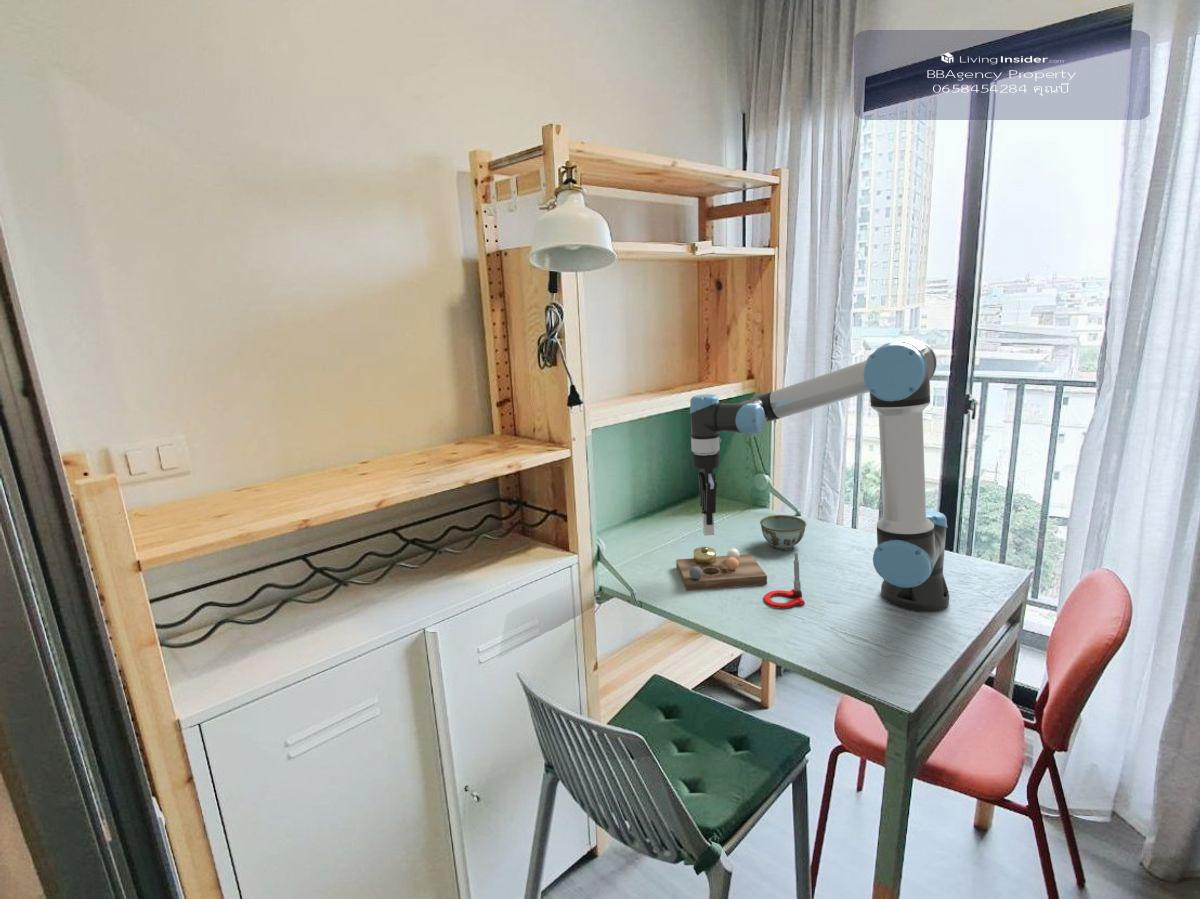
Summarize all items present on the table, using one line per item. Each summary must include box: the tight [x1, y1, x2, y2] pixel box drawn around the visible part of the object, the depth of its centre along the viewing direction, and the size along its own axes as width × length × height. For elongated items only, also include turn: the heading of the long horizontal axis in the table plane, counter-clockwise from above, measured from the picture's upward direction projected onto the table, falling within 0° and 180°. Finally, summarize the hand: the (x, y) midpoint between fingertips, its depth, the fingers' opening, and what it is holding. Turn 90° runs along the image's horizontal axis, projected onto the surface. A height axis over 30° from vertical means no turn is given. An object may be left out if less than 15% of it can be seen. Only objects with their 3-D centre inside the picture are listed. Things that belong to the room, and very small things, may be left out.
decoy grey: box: [689, 566, 702, 579], centre depth 163 cm, size 4×4×4 cm
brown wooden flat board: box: [675, 553, 768, 591], centre depth 169 cm, size 15×22×2 cm
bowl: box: [759, 514, 807, 551], centre depth 186 cm, size 14×13×8 cm
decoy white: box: [726, 547, 741, 560], centre depth 173 cm, size 4×4×4 cm
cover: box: [693, 546, 717, 564], centre depth 174 cm, size 6×6×4 cm
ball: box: [726, 557, 739, 570], centre depth 167 cm, size 4×4×4 cm
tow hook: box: [763, 551, 806, 609], centre depth 152 cm, size 8×13×9 cm
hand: (708, 534), depth 168 cm, fingers closed
